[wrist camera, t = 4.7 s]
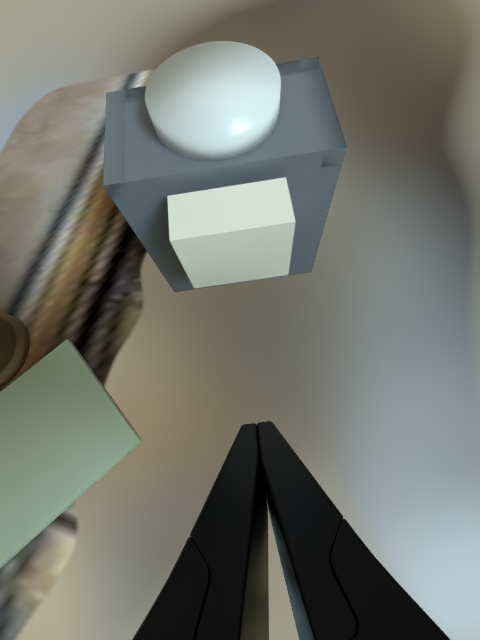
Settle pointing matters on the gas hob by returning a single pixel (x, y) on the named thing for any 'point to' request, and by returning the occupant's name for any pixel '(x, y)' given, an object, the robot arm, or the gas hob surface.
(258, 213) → the plunger
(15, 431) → the tile
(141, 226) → the box
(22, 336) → the brown cylinder
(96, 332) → the gas hob surface
